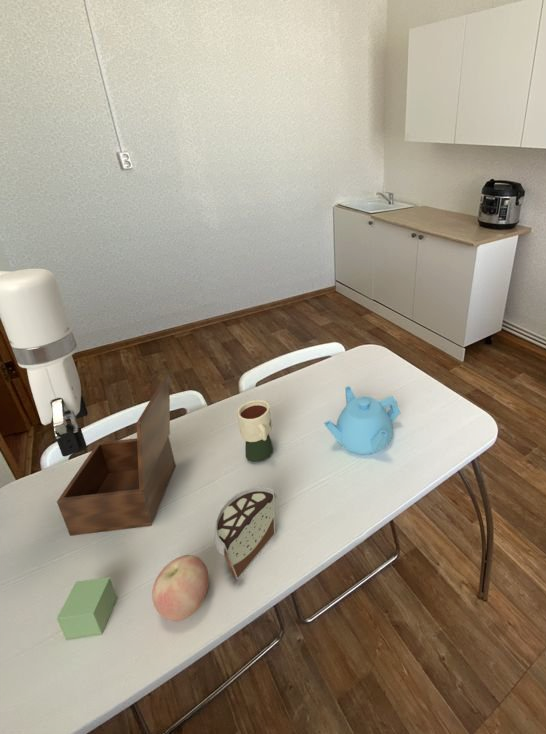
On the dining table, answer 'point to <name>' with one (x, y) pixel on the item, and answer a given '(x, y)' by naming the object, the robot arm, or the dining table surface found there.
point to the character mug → (256, 429)
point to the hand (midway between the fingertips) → (76, 433)
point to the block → (87, 608)
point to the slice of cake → (245, 527)
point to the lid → (153, 430)
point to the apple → (180, 588)
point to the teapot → (364, 423)
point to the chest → (114, 489)
